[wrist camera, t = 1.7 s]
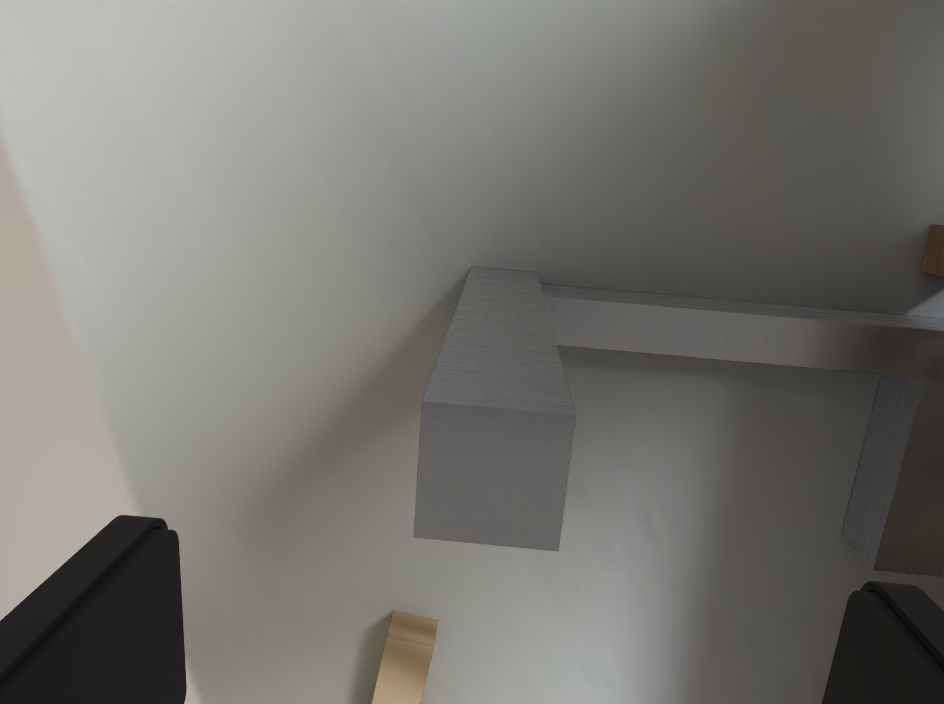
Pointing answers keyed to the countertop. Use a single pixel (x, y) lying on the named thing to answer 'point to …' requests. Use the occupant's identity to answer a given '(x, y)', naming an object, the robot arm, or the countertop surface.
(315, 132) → the countertop surface
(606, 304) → the grey angled piece
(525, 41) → the countertop surface
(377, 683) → the wooden bar
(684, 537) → the countertop surface
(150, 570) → the robot arm
